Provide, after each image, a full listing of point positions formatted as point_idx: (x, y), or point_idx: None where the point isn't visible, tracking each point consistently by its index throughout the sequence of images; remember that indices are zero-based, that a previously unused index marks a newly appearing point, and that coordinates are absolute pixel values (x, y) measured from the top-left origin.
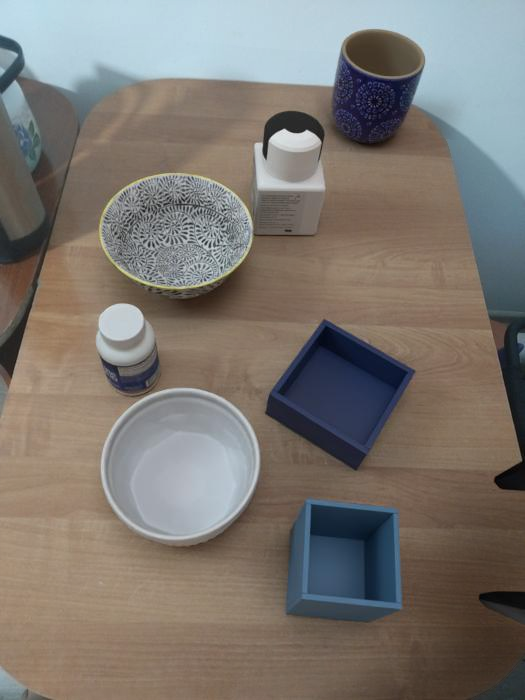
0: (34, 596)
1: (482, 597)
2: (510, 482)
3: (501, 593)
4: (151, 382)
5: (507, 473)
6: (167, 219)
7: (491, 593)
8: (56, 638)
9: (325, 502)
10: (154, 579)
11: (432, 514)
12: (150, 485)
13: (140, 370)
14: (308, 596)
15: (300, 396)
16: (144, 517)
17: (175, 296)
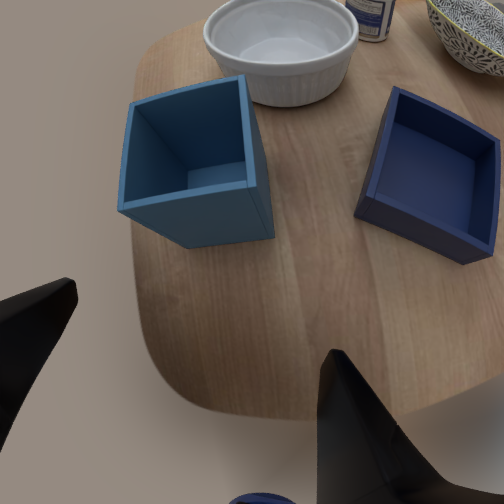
0: (187, 34)
1: (60, 279)
2: (329, 381)
3: (39, 298)
4: (361, 31)
5: (347, 371)
6: (490, 38)
7: (55, 289)
8: (164, 51)
9: (244, 92)
10: (203, 76)
11: (321, 317)
12: (273, 47)
13: (356, 5)
14: (131, 107)
15: (415, 143)
16: (245, 51)
17: (437, 27)
